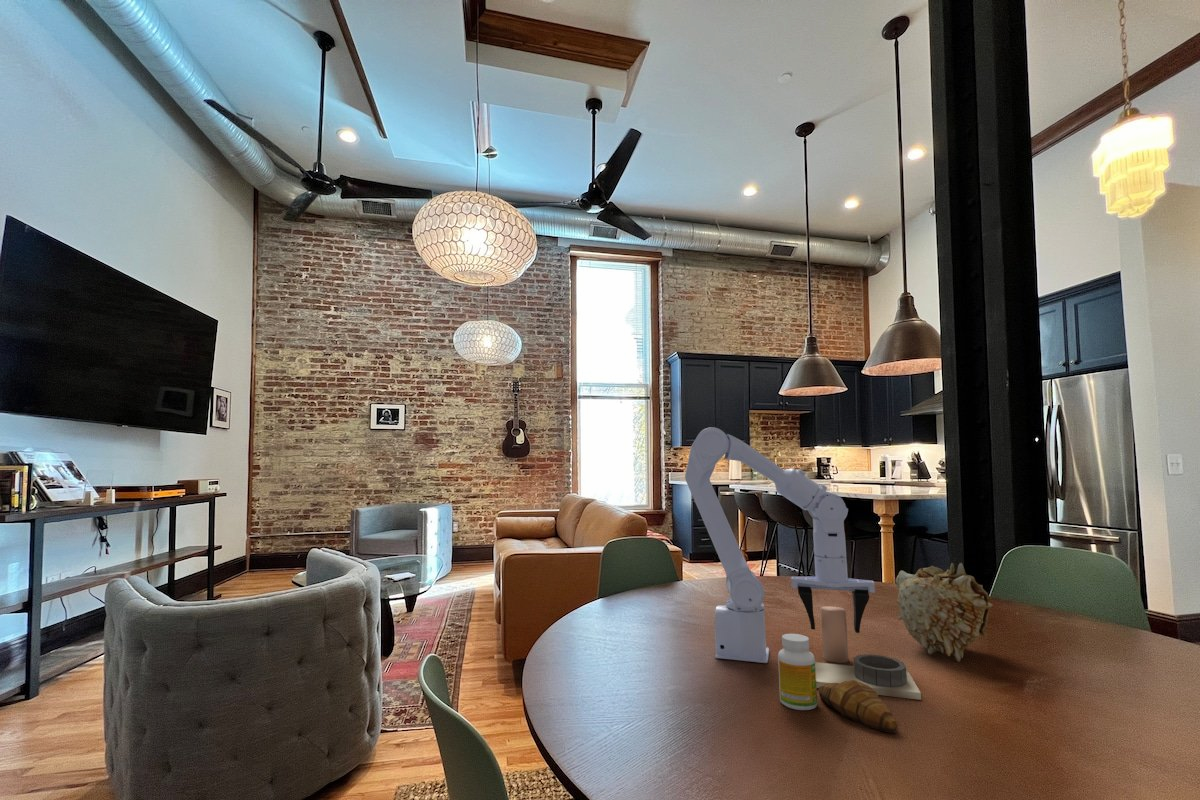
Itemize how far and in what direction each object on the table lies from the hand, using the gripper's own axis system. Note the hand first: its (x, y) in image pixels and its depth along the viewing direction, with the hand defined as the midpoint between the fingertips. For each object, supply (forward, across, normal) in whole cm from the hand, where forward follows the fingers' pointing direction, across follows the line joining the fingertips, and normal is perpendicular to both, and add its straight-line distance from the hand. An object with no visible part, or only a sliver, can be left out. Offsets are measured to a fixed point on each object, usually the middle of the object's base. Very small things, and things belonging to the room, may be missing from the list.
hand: (834, 629), depth 104 cm
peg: (+5, 0, 0) cm, 5 cm away
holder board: (+5, +1, -11) cm, 12 cm away
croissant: (+6, +1, -24) cm, 25 cm away
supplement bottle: (+5, -7, -23) cm, 25 cm away
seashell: (+6, +21, +11) cm, 24 cm away
